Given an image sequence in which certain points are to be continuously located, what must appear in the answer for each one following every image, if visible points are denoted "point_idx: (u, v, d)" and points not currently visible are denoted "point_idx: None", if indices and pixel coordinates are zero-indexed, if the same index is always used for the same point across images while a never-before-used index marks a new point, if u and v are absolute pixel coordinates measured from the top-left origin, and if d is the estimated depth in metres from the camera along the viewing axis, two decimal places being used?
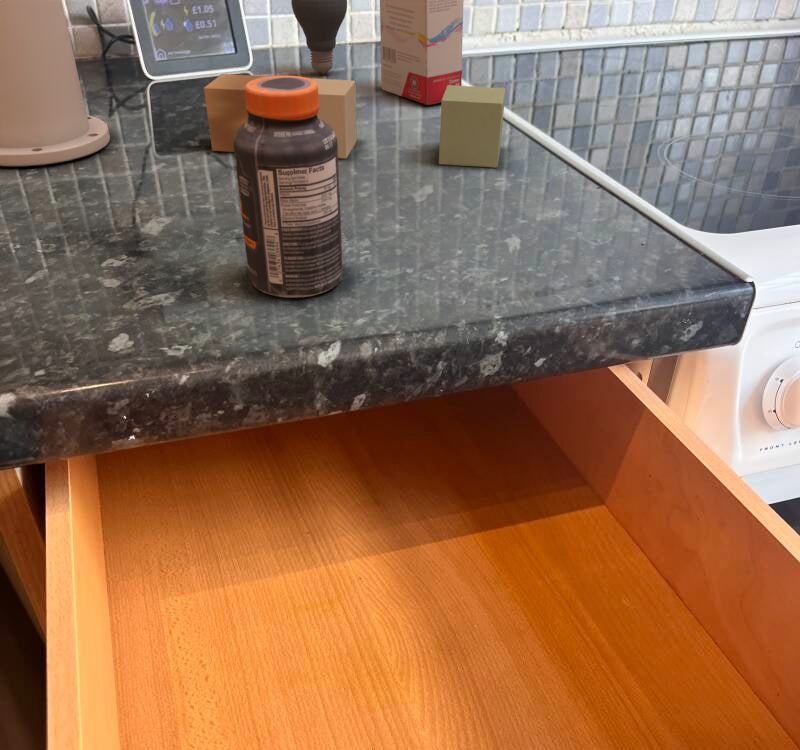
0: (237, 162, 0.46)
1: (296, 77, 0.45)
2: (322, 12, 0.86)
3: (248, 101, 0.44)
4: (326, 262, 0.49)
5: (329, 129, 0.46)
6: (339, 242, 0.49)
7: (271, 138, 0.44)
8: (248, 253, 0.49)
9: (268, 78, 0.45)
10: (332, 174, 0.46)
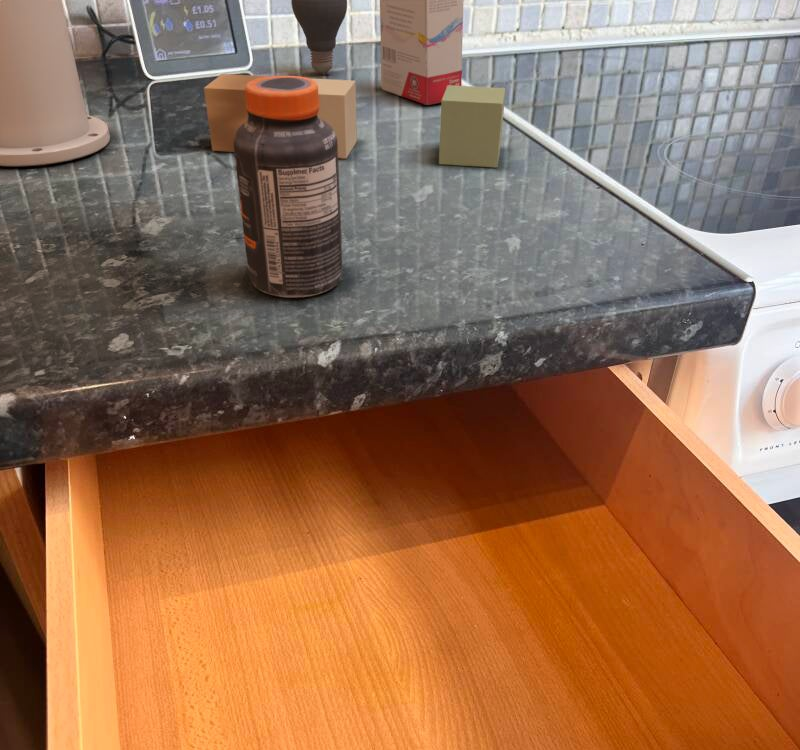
0: (237, 162, 0.46)
1: (296, 77, 0.45)
2: (322, 12, 0.86)
3: (248, 101, 0.44)
4: (326, 262, 0.49)
5: (329, 129, 0.46)
6: (339, 242, 0.49)
7: (272, 138, 0.44)
8: (248, 253, 0.49)
9: (268, 78, 0.45)
10: (332, 174, 0.46)
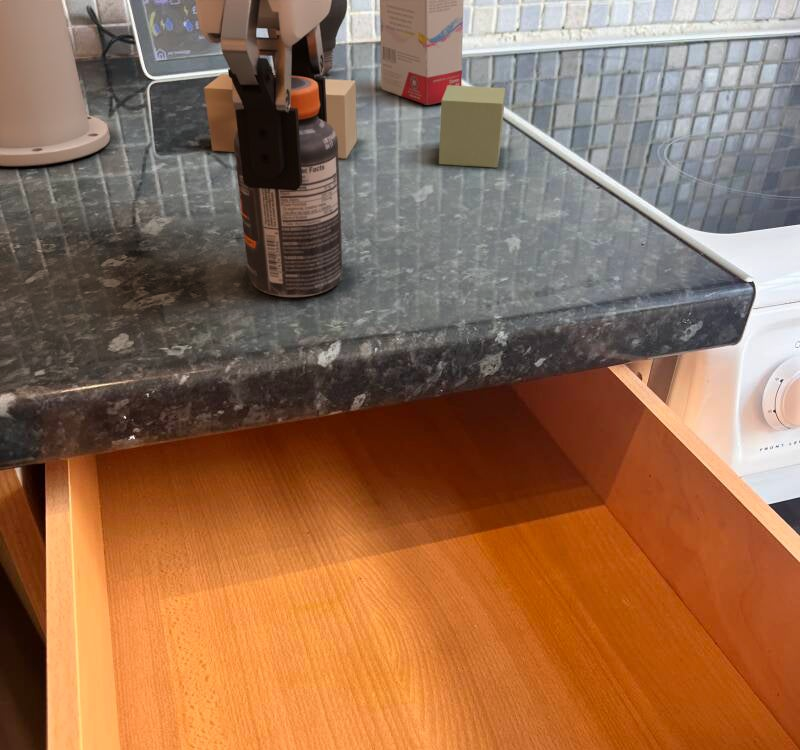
0: (237, 161, 0.46)
1: (296, 77, 0.45)
2: None
3: None
4: (326, 262, 0.49)
5: (329, 129, 0.46)
6: (339, 242, 0.49)
7: None
8: (248, 253, 0.49)
9: None
10: (333, 174, 0.46)
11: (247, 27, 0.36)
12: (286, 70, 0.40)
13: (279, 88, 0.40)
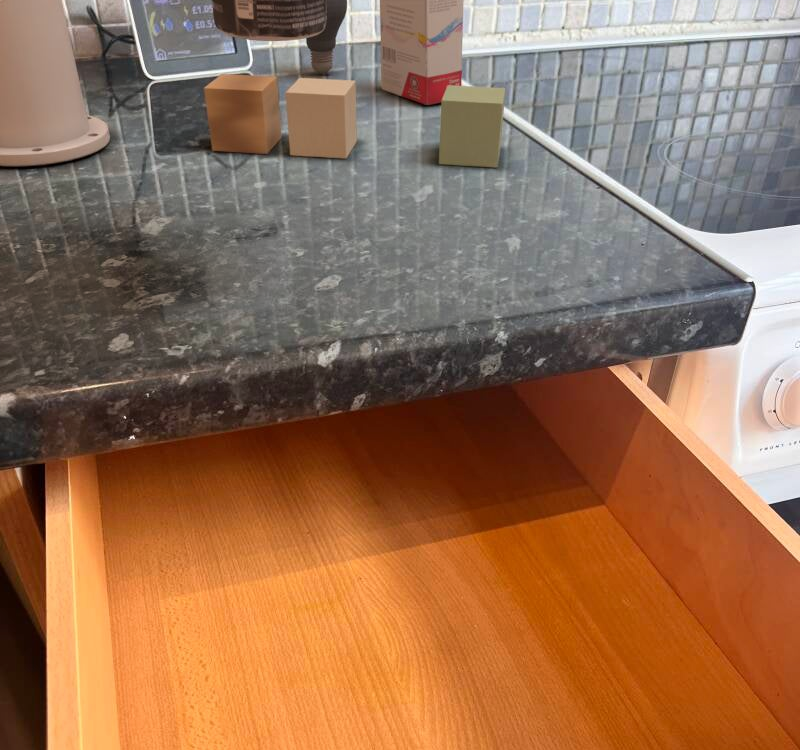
0: None
1: None
2: None
3: None
4: None
5: None
6: None
7: None
8: None
9: None
10: None
11: None
12: None
13: None
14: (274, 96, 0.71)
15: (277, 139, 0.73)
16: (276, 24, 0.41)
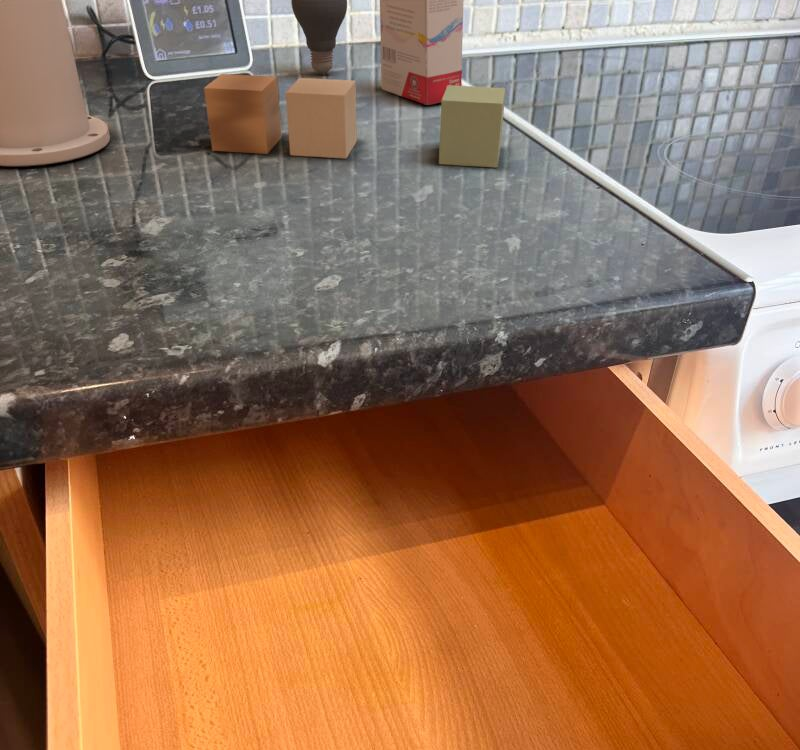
0: None
1: None
2: (322, 12, 0.86)
3: None
4: None
5: None
6: None
7: None
8: None
9: None
10: None
11: None
12: None
13: None
14: (274, 96, 0.71)
15: (277, 139, 0.73)
16: None
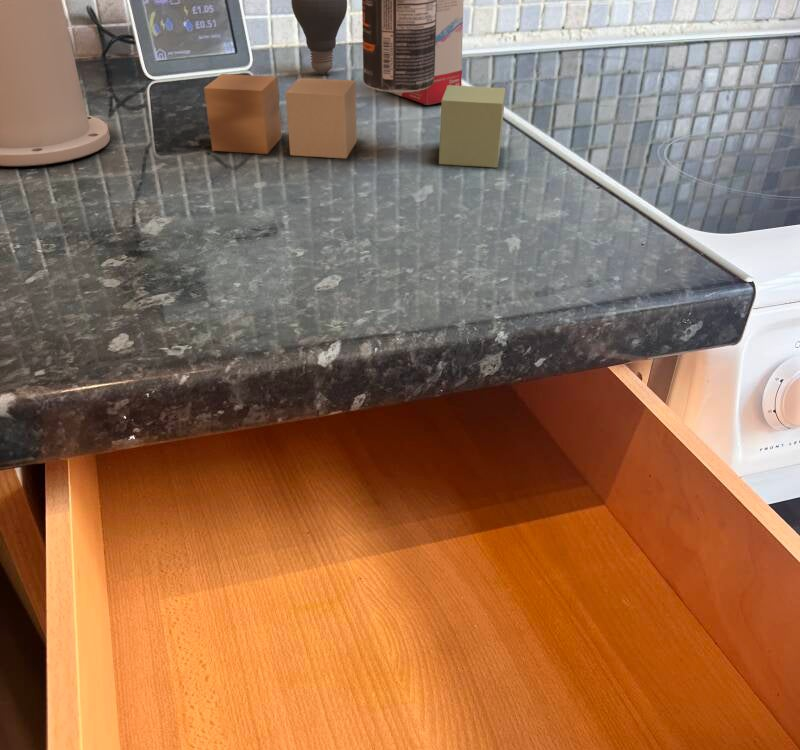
0: None
1: None
2: (322, 12, 0.86)
3: None
4: (425, 63, 0.65)
5: None
6: (434, 50, 0.66)
7: None
8: (366, 58, 0.66)
9: None
10: None
11: None
12: None
13: None
14: (274, 96, 0.71)
15: (277, 139, 0.73)
16: (406, 82, 0.65)
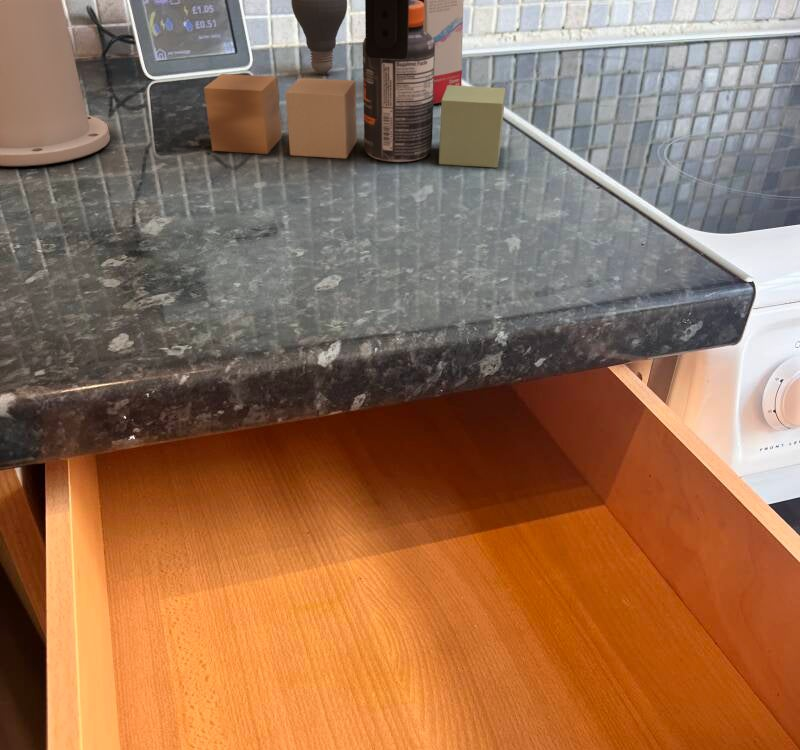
0: (366, 59, 0.66)
1: None
2: (322, 12, 0.86)
3: None
4: (423, 135, 0.69)
5: (430, 36, 0.66)
6: (432, 122, 0.69)
7: None
8: (367, 129, 0.69)
9: None
10: (431, 68, 0.66)
11: None
12: None
13: None
14: (274, 96, 0.71)
15: (277, 139, 0.73)
16: (405, 153, 0.69)
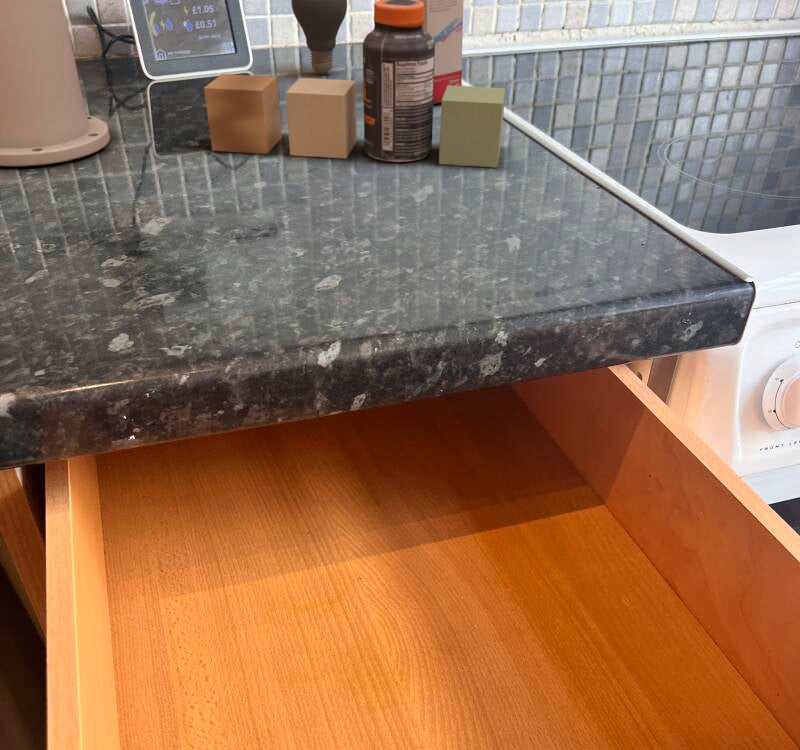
0: (366, 59, 0.66)
1: None
2: (322, 12, 0.86)
3: (377, 14, 0.64)
4: (423, 135, 0.69)
5: (430, 36, 0.66)
6: (432, 122, 0.69)
7: (393, 39, 0.64)
8: (367, 129, 0.69)
9: (388, 0, 0.65)
10: (431, 68, 0.66)
11: None
12: None
13: None
14: (274, 96, 0.71)
15: (277, 139, 0.73)
16: (405, 153, 0.69)
